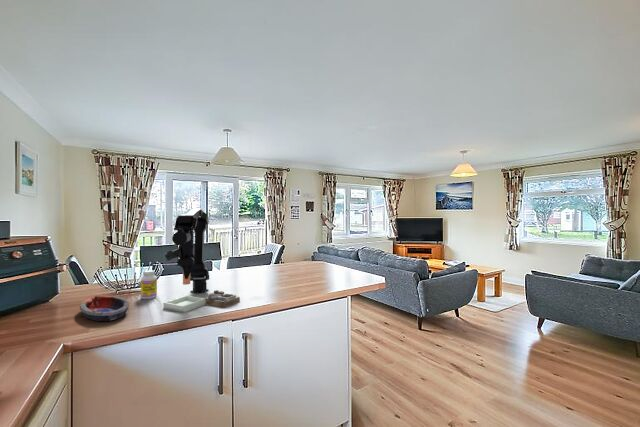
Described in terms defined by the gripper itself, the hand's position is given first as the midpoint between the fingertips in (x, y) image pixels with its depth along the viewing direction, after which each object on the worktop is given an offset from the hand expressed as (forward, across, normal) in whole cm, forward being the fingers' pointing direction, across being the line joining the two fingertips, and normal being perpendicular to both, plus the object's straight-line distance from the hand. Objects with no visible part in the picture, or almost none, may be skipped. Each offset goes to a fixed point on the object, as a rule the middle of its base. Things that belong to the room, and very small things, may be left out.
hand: (186, 278), depth 129 cm
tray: (+12, 0, -1) cm, 13 cm away
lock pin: (+2, 0, 0) cm, 3 cm away
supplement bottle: (+13, -21, -18) cm, 30 cm away
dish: (+13, -3, -31) cm, 34 cm away
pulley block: (+12, 0, +14) cm, 19 cm away
